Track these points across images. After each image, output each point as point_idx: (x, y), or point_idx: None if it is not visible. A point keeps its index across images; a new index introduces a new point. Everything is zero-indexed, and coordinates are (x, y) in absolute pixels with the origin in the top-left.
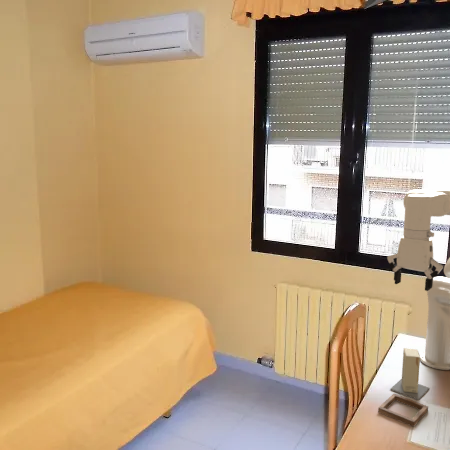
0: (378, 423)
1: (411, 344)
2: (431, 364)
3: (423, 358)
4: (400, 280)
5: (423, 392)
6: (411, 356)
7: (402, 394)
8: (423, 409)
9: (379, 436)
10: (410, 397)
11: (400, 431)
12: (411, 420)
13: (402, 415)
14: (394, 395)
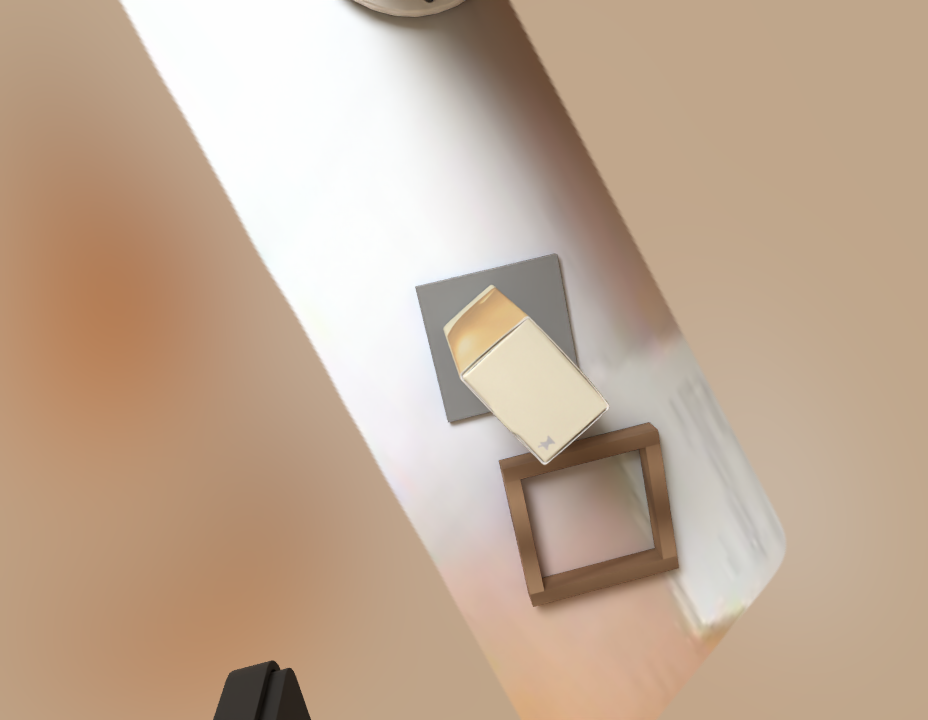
0: (575, 644)
1: None
2: (425, 7)
3: None
4: (287, 710)
5: (564, 320)
6: (568, 441)
7: None
8: (657, 466)
9: (624, 692)
10: None
11: (654, 614)
12: (667, 567)
13: (626, 570)
14: (515, 480)
